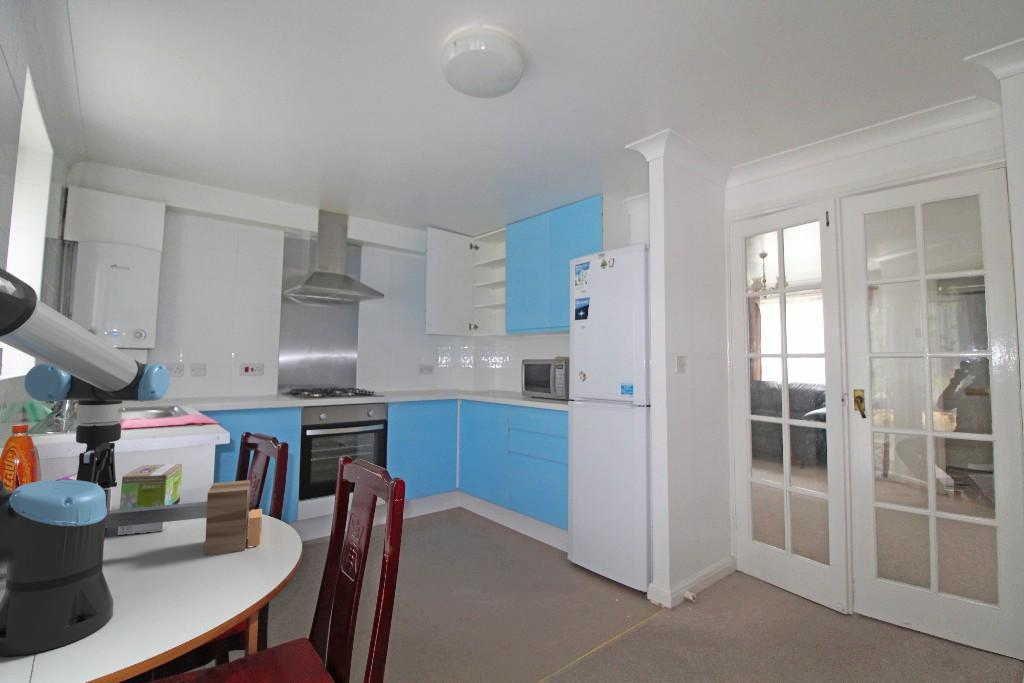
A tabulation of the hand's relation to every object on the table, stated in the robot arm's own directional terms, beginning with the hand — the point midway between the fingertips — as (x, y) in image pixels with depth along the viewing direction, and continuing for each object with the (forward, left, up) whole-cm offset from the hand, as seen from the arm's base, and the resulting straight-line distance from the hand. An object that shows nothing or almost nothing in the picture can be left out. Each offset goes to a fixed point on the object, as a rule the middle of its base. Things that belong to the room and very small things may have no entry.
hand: (93, 525), depth 105 cm
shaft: (0, -11, -1) cm, 11 cm away
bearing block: (0, -26, -8) cm, 27 cm away
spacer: (0, -31, -8) cm, 32 cm away
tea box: (+24, -6, -8) cm, 26 cm away
